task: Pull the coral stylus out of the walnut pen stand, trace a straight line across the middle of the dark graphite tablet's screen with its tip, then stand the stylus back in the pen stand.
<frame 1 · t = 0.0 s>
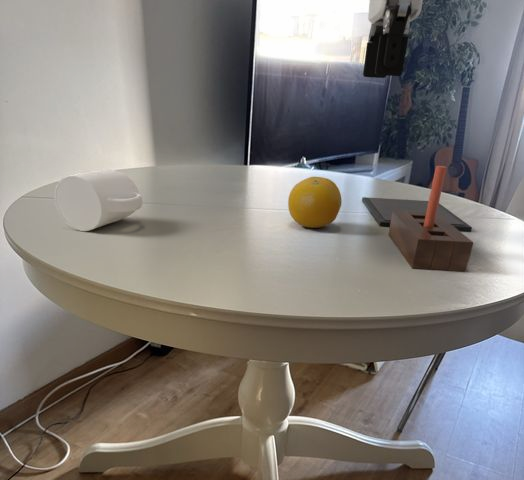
hand: (380, 76, 62), 22 cm above the table, tool pointing down, fingers open, 9 cm apart
mug: (106, 226, 76), on the table
fruit: (312, 227, 81), on the table
stylus: (431, 210, 69), in the pen stand
tablet: (410, 214, 93), on the table
pen stand: (423, 251, 71), on the table
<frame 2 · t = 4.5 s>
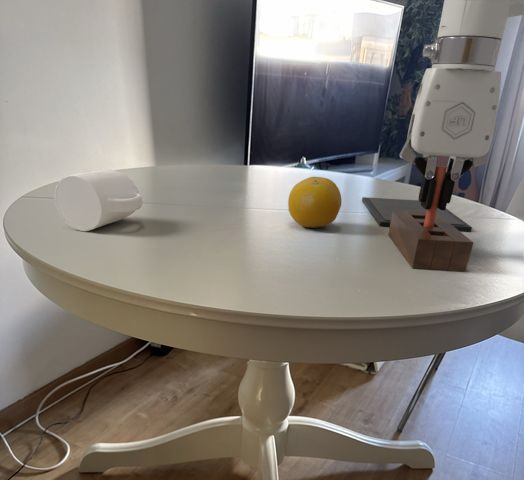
hand: (432, 207, 68), 7 cm above the table, tool pointing down, fingers closed on stylus, 1 cm apart
stylus: (431, 210, 69), in the pen stand, touching gripper
everything else where it was.
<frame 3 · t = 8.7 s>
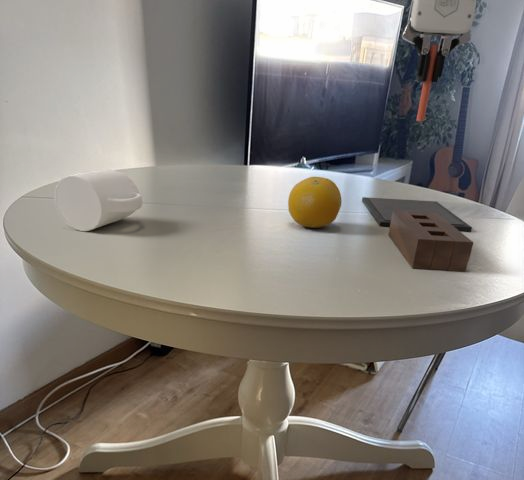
hand: (427, 81, 86), 23 cm above the table, tool pointing down, fingers closed on stylus, 1 cm apart
stylus: (427, 84, 86), point 22 cm above the table, touching gripper
everything else where it was.
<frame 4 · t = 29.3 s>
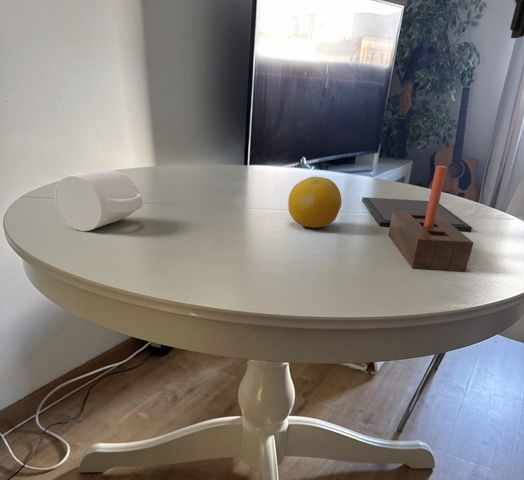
stylus: (432, 210, 69), in the pen stand
everything else where it was.
at the end: stylus 0.0 cm off-centre in the pen stand, point 6.0 cm above the pen stand's base; stylus tilted 0°; stylus touching table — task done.
